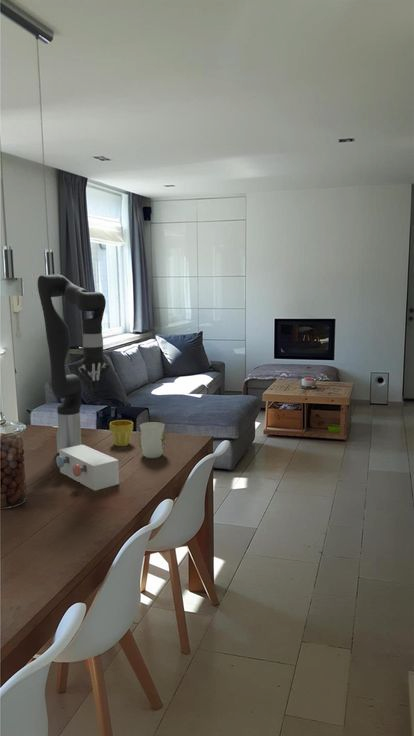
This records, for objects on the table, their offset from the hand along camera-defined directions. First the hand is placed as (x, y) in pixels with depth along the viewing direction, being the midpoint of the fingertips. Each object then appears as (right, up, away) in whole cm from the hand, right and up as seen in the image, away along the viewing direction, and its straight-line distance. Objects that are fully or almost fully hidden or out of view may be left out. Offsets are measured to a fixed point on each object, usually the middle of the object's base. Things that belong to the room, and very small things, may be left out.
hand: (94, 389), depth 222 cm
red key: (0, -29, -15) cm, 33 cm away
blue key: (-8, -28, -6) cm, 30 cm away
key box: (-1, -33, -7) cm, 33 cm away
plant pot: (+5, -26, +36) cm, 45 cm away
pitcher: (+21, -28, +20) cm, 40 cm away
